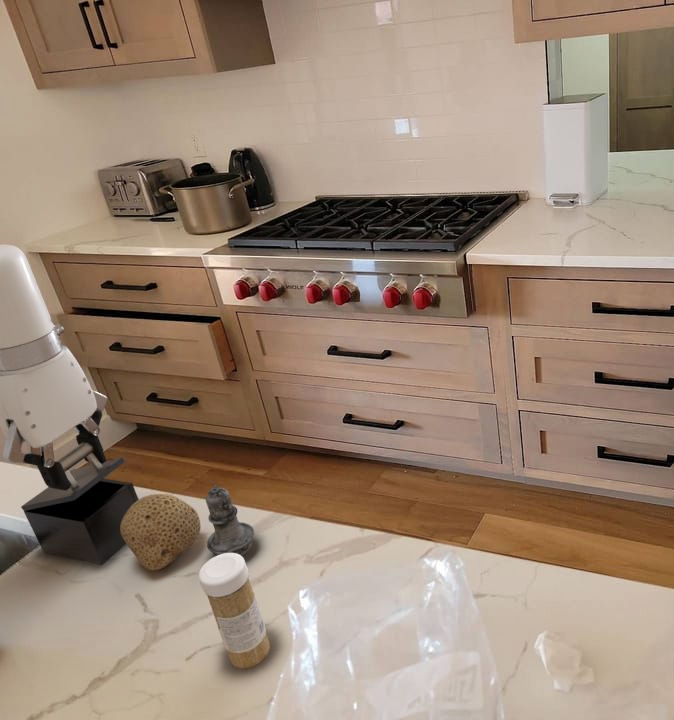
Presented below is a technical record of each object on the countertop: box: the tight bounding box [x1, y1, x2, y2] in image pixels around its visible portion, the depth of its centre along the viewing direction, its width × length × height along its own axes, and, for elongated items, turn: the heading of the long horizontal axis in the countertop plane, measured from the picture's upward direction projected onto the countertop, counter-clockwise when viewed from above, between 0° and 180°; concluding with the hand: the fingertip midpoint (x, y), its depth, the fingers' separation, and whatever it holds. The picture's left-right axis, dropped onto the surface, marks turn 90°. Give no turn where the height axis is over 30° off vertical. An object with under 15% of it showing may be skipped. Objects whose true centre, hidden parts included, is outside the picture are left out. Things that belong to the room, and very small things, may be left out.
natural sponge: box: [120, 493, 201, 571], centre depth 88 cm, size 9×9×10 cm
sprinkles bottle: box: [198, 553, 271, 669], centre depth 72 cm, size 5×5×14 cm
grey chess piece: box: [205, 484, 255, 557], centre depth 87 cm, size 6×6×12 cm
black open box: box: [23, 477, 140, 566], centre depth 93 cm, size 10×8×8 cm
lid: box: [20, 441, 126, 512], centre depth 90 cm, size 11×8×5 cm
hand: (78, 473), depth 89 cm, fingers closed on lid, 5 cm apart
